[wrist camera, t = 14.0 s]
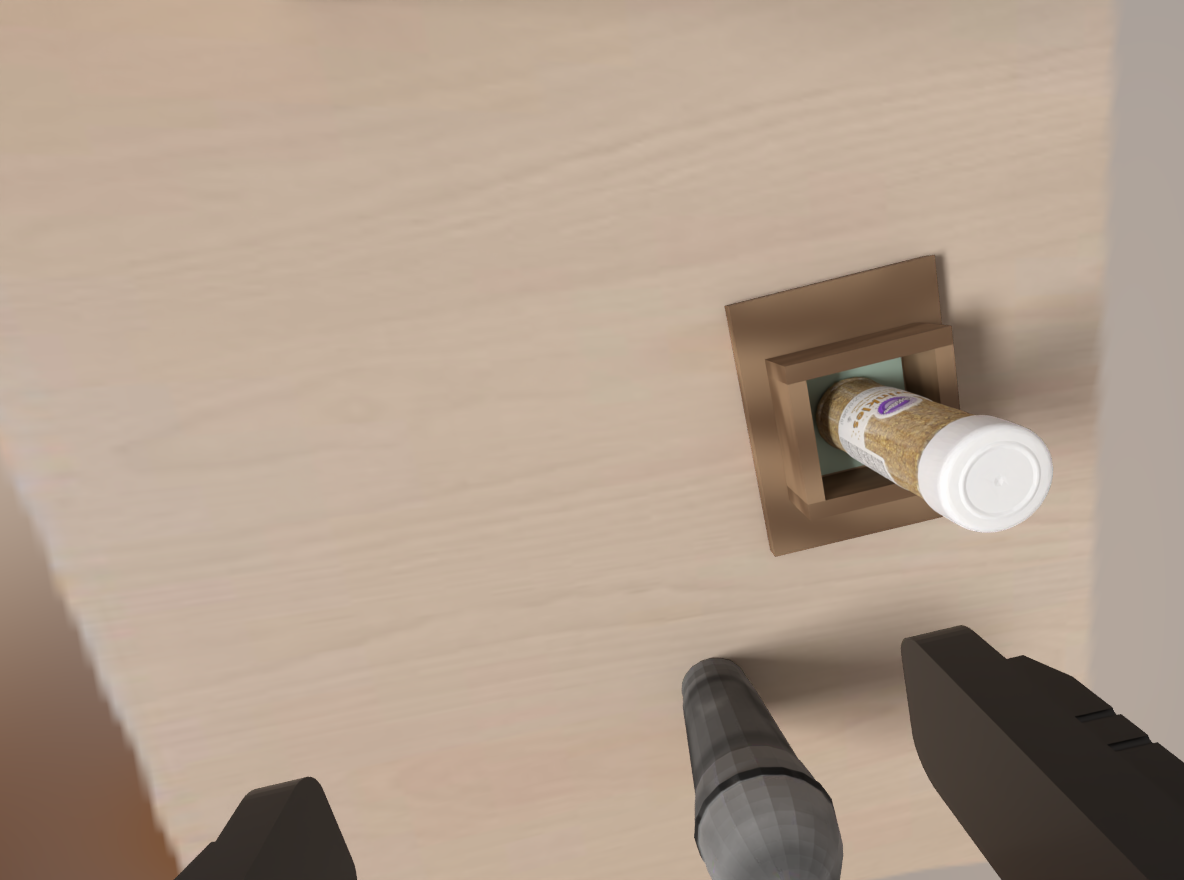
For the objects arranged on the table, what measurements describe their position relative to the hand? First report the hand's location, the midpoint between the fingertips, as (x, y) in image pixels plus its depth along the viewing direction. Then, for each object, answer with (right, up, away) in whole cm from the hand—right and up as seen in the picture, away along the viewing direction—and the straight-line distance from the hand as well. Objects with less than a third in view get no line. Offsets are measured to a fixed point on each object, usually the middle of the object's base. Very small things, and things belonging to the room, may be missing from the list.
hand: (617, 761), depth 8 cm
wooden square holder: (+15, +6, +30) cm, 34 cm away
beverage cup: (+8, -13, +35) cm, 38 cm away
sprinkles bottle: (+15, +6, +29) cm, 33 cm away
